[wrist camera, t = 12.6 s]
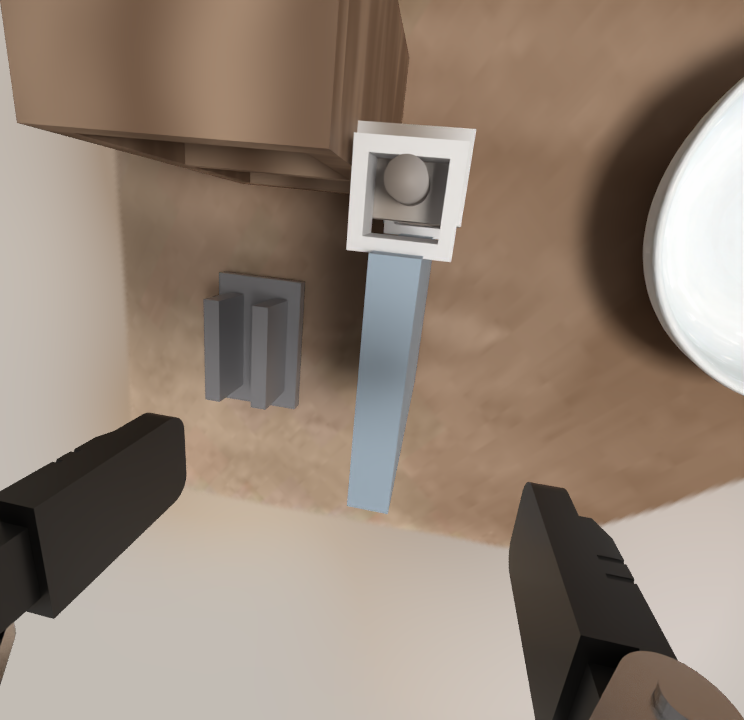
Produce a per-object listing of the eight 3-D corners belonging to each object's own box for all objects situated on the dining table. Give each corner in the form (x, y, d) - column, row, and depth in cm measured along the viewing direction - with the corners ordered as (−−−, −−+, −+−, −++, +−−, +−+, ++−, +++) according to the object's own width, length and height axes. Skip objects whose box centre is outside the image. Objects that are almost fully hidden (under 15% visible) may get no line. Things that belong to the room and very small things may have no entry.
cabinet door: (460, 171, 28) (471, 137, 14) (427, 383, 34) (410, 518, 20) (400, 166, 29) (347, 127, 14) (378, 375, 35) (325, 501, 20)
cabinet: (480, 61, 27) (538, -229, 10) (454, 231, 31) (465, 223, 14) (243, 48, 30) (-29, -208, 13) (242, 209, 33) (24, 177, 16)
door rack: (304, 281, 34) (282, 288, 29) (298, 404, 37) (276, 429, 32) (225, 271, 35) (190, 276, 30) (225, 392, 38) (194, 414, 33)
